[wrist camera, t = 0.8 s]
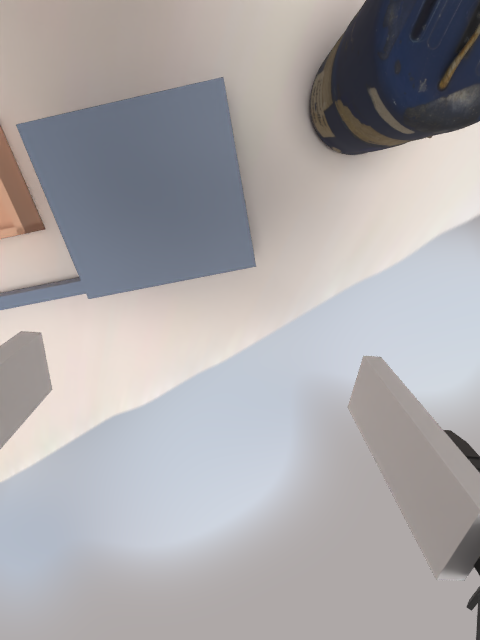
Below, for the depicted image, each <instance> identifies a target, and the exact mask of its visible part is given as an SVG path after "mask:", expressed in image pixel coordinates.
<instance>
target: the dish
mask: <svg viewBox="0 0 480 640" xmlns="http://www.w3.org/2000/svg"><path fill="white" fill-rule="evenodd" d="M44 229H45V227H44V225H43V223H42V221H41V218H40V216H39V214H38V211H37V209H36V207H35V204H34V202H33V200H32V198H31V195H30V193H29V191H28V188H27V186H26V184H25V181H24V179H23V177H22V174H21V172H20V170H19V168H18V165H17V163H16V161H15V158H14V156H13V154H12V151H11V149H10V147H9V145H8V142H7V140H6V138H5V135H4V133H3V131H2V128H1V126H0V239H2V238H6V237H11V236H16V235H21V234H25V233H30V232H35V231H39V230H44Z"/></svg>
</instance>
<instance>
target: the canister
mask: <svg viewBox="0 0 480 640" xmlns="http://www.w3.org/2000/svg"><path fill="white" fill-rule="evenodd" d="M310 110H311V117H312V121H313V125H314V127H315V130H316V132H317V134H318V135H319V137H320V138H321V139H322V141H323V142H324V143H325V144H326V145H327V146H329V147H330V148H331V149H333V150H335V151H337V152H339V153H343V154H349V155H356V154H363V153H367V152H372V151H378V150H383V149H387V148H391V147H395V146H399V145H402V144H405V143H407V142H410V141H413V140H419V139H423V138H426V137H428V138H431V137H432V136H433V135H438V134H443V133H448V132H452V131H456V130H459V129H462V128H465V127H467V126H470V125H472V124H474V123H477V122H479V121H480V0H366V1H365V3H364V4H363V6H362V7H361V9H360V10H359V12H358V13H357V14H356V16H355V17H354V18H353V20H352V21H351V23H350V24H349V26H348V27H347V29H346V31H345V32H344V34H343V35H342V36H341V38H340V39H339V40H338V42H337V43H336V45H335V46H334V48H333V49H332V50H331V52H330V53H329V55H328V56H327V57H326V59H325V60H324V62H323V63H322V65H321V67H320V69H319V71H318V73H317V75H316V77H315V80H314V83H313V87H312V92H311V99H310Z"/></svg>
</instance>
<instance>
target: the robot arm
mask: <svg viewBox="0 0 480 640" xmlns="http://www.w3.org/2000/svg"><path fill="white" fill-rule="evenodd" d="M51 390H52V385H51V380H50V375H49V370H48V365H47V360H46V355H45V350H44V344H43V339H42V334H41V333H38V332H24V331H21V332H19V333H18V334H17V335H15V336H14V337H12V338H11V339H9V340H8V341H7V342H5V343H4V344H2V345H1V346H0V449H1V448H2V447H3V446H4V445H5V443H6V442H7V441H8V440H9V439H10V438H11V436H12V435H13V434H14V433H15V432H16V431H17V430H18V428H19V427H20V426H21V425H22V424H23V423H24V421H25V420H26V419H27V418H28V417H29V416H30V415H31V413H32V412H33V411H34V410H35V409H36V408H37V406H38V405H39V404H40V403H41V402H42V401H43V400H44V398H45V397H46V396H47V395H48V394H49V393H50V391H51ZM348 409H349V411H350V413H351V415H352V417H353V419H354V421H355V423H356V424H357V426H358V428H359V430H360V432H361V434H362V436H363V438H364V440H365V442H366V444H367V446H368V448H369V450H370V452H371V454H372V456H373V458H374V460H375V462H376V463H377V465H378V467H379V469H380V471H381V473H382V475H383V477H384V479H385V481H386V483H387V485H388V487H389V489H390V491H391V493H392V495H393V497H394V498H395V500H396V502H397V504H398V506H399V508H400V510H401V512H402V514H403V516H404V518H405V520H406V522H407V524H408V526H409V528H410V529H411V532H412V534H413V535H414V537H415V539H416V541H417V543H418V545H419V547H420V549H421V551H422V553H423V555H424V557H425V559H426V561H427V563H428V565H429V567H430V569H431V570H432V573H433V575H434V576H435V578H436V580H460V581H464V580H465V579H466V578H467V576H468V575H469V573H470V572H471V570H472V569H473V568H474V567H475V569H476V570H477V572H478V573H479V575H480V456H479V455H478V454H477V453H476V452H475V451H474V450H473V449H472V448H471V446H470V445H469V444H468V443H467V442H466V441H464V440H463V439H461V438H460V437H459V436H457V435H456V434H455V433H453V432H452V431H449V430H443V429H442V428H441V427H440V426H439V425H438V423H437V422H436V421H435V420H434V419H433V418H432V416H431V415H430V414H429V413H428V412H427V411H426V409H425V408H424V407H423V406H422V405H421V403H420V402H419V401H418V400H417V399H416V398H415V396H414V395H413V394H412V393H411V392H410V391H409V389H408V388H407V387H406V386H405V385H404V384H403V382H402V381H401V380H400V379H399V378H398V376H397V375H396V374H395V373H394V372H393V371H392V369H391V368H390V367H389V366H388V365H387V364H386V362H385V361H384V360H383V359H382V358H381V357H374V356H373V357H372V356H363V359H362V362H361V365H360V369H359V372H358V375H357V378H356V382H355V385H354V388H353V392H352V395H351V398H350V401H349V405H348ZM477 603H478V616H477V635H476V640H480V587H479V588H478V589H477V591H476V592H475V593H474V595H473V596H472V597H471V599H470V600H469V602H468V605H467V608H469V609H470V610H472V609H473V608H474V607H475V606H476V604H477Z"/></svg>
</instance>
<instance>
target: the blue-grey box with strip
mask: <svg viewBox="0 0 480 640" xmlns="http://www.w3.org/2000/svg"><path fill="white" fill-rule="evenodd" d="M16 126H17V128H18V131H19V133H20V136H21V138H22V140H23V143H24V145H25V148H26V150H27V152H28V155H29V157H30V160H31V162H32V164H33V167H34V169H35V172H36V174H37V176H38V179H39V181H40V184H41V186H42V188H43V191H44V193H45V196H46V198H47V200H48V203H49V205H50V208H51V210H52V212H53V215H54V217H55V220H56V222H57V224H58V227H59V229H60V232H61V234H62V237H63V239H64V241H65V244H66V246H67V249H68V251H69V253H70V256H71V258H72V261H73V263H74V265H75V268H76V270H77V273H78V275H79V278H74V279H69V280H63V281H58V282H53V283H48V284H43V285H38V286H33V287H28V288H23V289H18V290H13V291H8V292H3V293H0V310H4V309H9V308H14V307H19V306H24V305H29V304H35V303H40V302H45V301H50V300H55V299H60V298H65V297H70V296H75V295H81V294H87V297H88V299H91V298H97V297H102V296H107V295H112V294H117V293H122V292H127V291H133V290H138V289H143V288H148V287H153V286H158V285H163V284H168V283H174V282H179V281H184V280H189V279H194V278H199V277H204V276H210V275H215V274H220V273H225V272H230V271H235V270H240V269H246V268H251V267H256V264H255V258H254V252H253V246H252V240H251V235H250V229H249V223H248V217H247V212H246V206H245V200H244V194H243V188H242V183H241V177H240V171H239V165H238V159H237V154H236V148H235V142H234V136H233V131H232V125H231V119H230V113H229V107H228V102H227V96H226V90H225V84H224V79H223V77H221V78H217V79H212V80H208V81H204V82H199V83H195V84H191V85H186V86H182V87H178V88H173V89H169V90H165V91H160V92H156V93H152V94H147V95H143V96H138V97H134V98H130V99H125V100H121V101H117V102H112V103H108V104H104V105H99V106H95V107H91V108H86V109H82V110H78V111H73V112H69V113H65V114H60V115H56V116H52V117H47V118H43V119H38V120H34V121H30V122H25V123H21V124H17V125H16Z"/></svg>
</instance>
